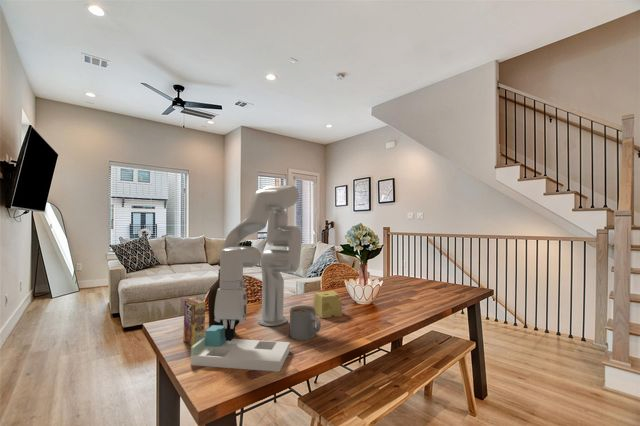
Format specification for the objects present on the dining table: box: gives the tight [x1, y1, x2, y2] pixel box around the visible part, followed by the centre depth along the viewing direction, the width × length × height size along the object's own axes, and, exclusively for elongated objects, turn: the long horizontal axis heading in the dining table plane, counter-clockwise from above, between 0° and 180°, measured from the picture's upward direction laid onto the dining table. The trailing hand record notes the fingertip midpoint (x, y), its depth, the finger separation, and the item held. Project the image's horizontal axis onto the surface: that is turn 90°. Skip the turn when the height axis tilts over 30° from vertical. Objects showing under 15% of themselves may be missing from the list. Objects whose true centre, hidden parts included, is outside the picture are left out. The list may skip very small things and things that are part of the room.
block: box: [204, 325, 226, 346], centre depth 101 cm, size 5×5×5 cm
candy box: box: [182, 297, 207, 347], centre depth 109 cm, size 9×4×15 cm, turn 47°
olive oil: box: [207, 268, 231, 328], centre depth 119 cm, size 11×11×25 cm
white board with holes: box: [190, 336, 291, 373], centre depth 98 cm, size 14×28×6 cm, turn 83°
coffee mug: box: [289, 305, 322, 341], centre depth 116 cm, size 13×10×10 cm
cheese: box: [313, 290, 343, 319], centre depth 144 cm, size 10×11×10 cm
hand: (229, 339), depth 101 cm, fingers closed
